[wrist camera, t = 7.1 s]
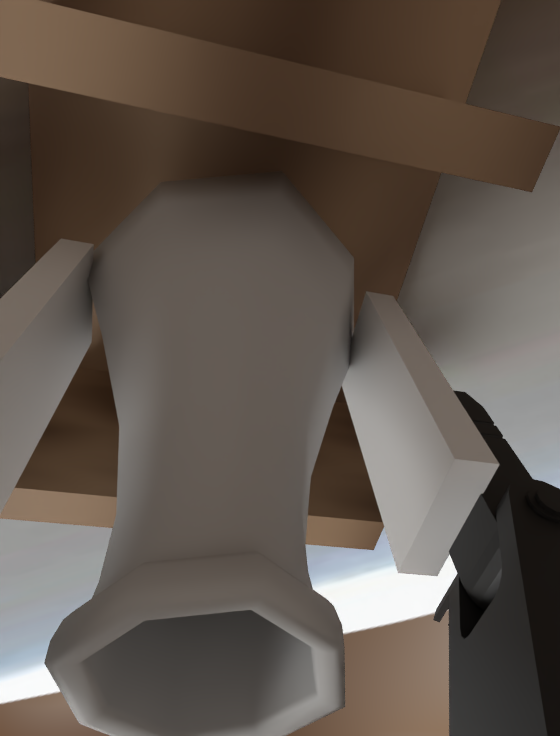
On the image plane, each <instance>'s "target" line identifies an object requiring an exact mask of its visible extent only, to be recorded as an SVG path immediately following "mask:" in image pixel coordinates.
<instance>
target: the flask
mask: <svg viewBox="0 0 560 736" xmlns="http://www.w3.org/2000/svg"><path fill="white" fill-rule="evenodd" d="M88 284H89V288H90V291H91V295H92V299H93V303H94V307H95V311H96V315H97V318H98V322H99V326H100V330H101V334H102V338H103V343H104V349H105V354H106V359H107V364H108V369H109V375H110V380H111V385H112V390H113V396H114V401H115V406H116V411H117V416H118V422H119V451H118V479H117V508H116V517H115V521H114V525H113V529H112V533H111V537H110V541H109V544H108V548H107V552H106V556H105V560H104V564H103V568H102V572H101V576H100V580H99V583H98V585H97V588H96V590H95V592H94V595H93V597H92V599H91V600H89V601H88V602H86V603H85V604H84V605H82V606H81V607H79V608H78V609H76V610H75V611H74V612H72V613H71V614H70V615H68V616H67V617H66V618H65V619H64V620H63V621H62V622H61V624H60V626H59V627H58V629H57V631H56V632H55V634H54V636H53V637H52V639H51V641H50V644H49V647H48V651H47V655H46V659H45V665H46V667H47V668H48V670H49V672H50V674H51V675H52V677H53V679H54V680H55V682H56V684H57V686H58V687H59V689H60V691H61V693H62V694H63V696H64V698H65V699H66V701H67V703H68V704H69V706H70V708H71V710H72V712H73V713H74V715H75V717H76V718H77V720H78V722H79V724H82V725H84V726H87V727H90V728H92V729H94V730H97V731H99V732H102V733H105V734H107V735H110V736H286V735H288V734H290V733H292V732H294V731H296V730H298V729H300V728H302V727H304V726H306V725H308V724H311V723H313V722H315V721H317V720H319V719H321V718H323V717H325V716H327V715H329V714H331V713H333V712H335V711H337V710H339V709H341V708H343V707H345V670H344V669H345V663H344V639H343V630H342V624H341V622H340V620H339V617H338V615H337V613H336V610H335V608H334V606H333V605H332V604H331V603H330V602H329V601H328V600H327V599H326V598H324V597H323V596H321V595H320V594H318V593H317V592H316V591H314V590H313V589H312V585H311V581H310V577H309V573H308V566H307V557H306V548H305V544H306V531H307V518H308V506H309V493H310V480H311V475H312V472H313V469H314V465H315V462H316V459H317V456H318V453H319V450H320V446H321V443H322V440H323V437H324V434H325V431H326V428H327V424H328V421H329V418H330V415H331V412H332V409H333V406H334V403H335V401H336V398H337V396H338V393H339V391H340V388H341V386H342V383H343V381H344V379H345V376H346V374H347V371H348V369H349V364H350V352H351V341H352V335H353V332H354V257H353V256H352V255H351V254H350V252H349V251H348V250H347V249H346V247H345V246H344V245H343V244H342V243H341V241H340V240H339V239H338V238H337V237H336V235H335V234H334V233H333V232H332V231H331V229H330V228H329V227H328V226H327V225H326V223H325V222H324V221H323V220H322V219H321V217H320V216H319V215H318V214H317V213H316V211H315V210H314V209H313V208H312V207H311V205H310V204H309V203H308V202H307V200H306V199H305V198H304V197H303V196H302V194H301V193H300V192H299V191H298V190H297V188H296V187H295V186H294V185H293V184H292V182H291V181H290V180H289V179H288V178H287V176H286V175H285V174H284V173H283V172H282V171H278V172H267V173H255V174H244V175H233V176H222V177H211V178H200V179H189V180H177V181H166V182H161V183H160V184H159V185H158V186H157V187H156V188H155V189H154V190H153V191H152V192H151V193H150V194H149V195H148V196H147V197H146V198H145V199H144V200H143V201H142V202H141V203H140V204H139V205H138V206H137V207H136V208H135V209H134V210H133V211H132V212H131V213H130V214H129V215H128V216H127V217H126V218H125V219H124V220H123V221H122V222H121V223H120V224H119V225H118V226H117V228H116V229H115V230H114V231H113V232H112V233H111V234H110V235H109V236H108V237H107V238H106V239H105V240H104V241H103V242H102V243H101V244H100V245H99V246H98V247H97V248H96V249H95V250H94V253H93V264H92V267H91V270H90V274H89V277H88Z"/></svg>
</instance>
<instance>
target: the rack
mask: <svg viewBox="0 0 560 736" xmlns="http://www.w3.org/2000/svg"><path fill="white" fill-rule="evenodd" d="M500 3H501V0H0V77H3V78H7V79H12V80H16V81H21V82H26V83H28V93H29V118H30V142H31V167H32V191H33V216H34V240H35V264H36V263H37V262H38V261H39V260H40V259H41V258H42V257H43V256H44V255H45V254H46V253H47V252H48V251H49V250H50V249H51V248H52V247H53V246H54V245H55V244H56V243H57V242H58V241H59V240H60V239H67V240H73V241H78V242H84V243H90V244H94V250H95V249H96V248H97V247H98V246H99V245H100V244H101V243H102V242H103V241H104V240H105V239H106V238H107V237H108V236H109V235H110V234H111V233H112V232H113V231H114V230H115V229H116V228H117V226H118V225H119V224H120V223H121V222H122V221H123V220H124V219H125V218H126V217H127V216H128V215H129V214H130V213H131V212H132V211H133V210H134V209H135V208H136V207H137V206H138V205H139V204H140V203H141V202H142V201H143V200H144V199H145V198H146V197H147V196H148V195H149V194H150V193H151V192H152V191H153V190H154V189H155V188H156V187H157V186H158V185H159V184H160V183H161V182H166V181H177V180H189V179H200V178H211V177H222V176H233V175H244V174H255V173H267V172H278V171H282V172H283V173H284V174H285V175H286V176H287V178H288V179H289V180H290V181H291V182H292V184H293V185H294V186H295V187H296V188H297V190H298V191H299V192H300V193H301V194H302V196H303V197H304V198H305V199H306V200H307V202H308V203H309V204H310V205H311V207H312V208H313V209H314V210H315V211H316V213H317V214H318V215H319V216H320V217H321V219H322V220H323V221H324V222H325V223H326V225H327V226H328V227H329V228H330V229H331V231H332V232H333V233H334V234H335V235H336V237H337V238H338V239H339V240H340V241H341V243H342V244H343V245H344V246H345V247H346V249H347V250H348V251H349V252H350V254H351V255H352V256H353V257H354V329H355V326H356V322H357V319H358V316H359V313H360V310H361V306H362V303H363V300H364V297H365V294H366V291H367V292H373V293H379V294H385V295H390V296H394V298H395V299H396V301H397V299H398V296H399V293H400V290H401V287H402V284H403V281H404V278H405V276H406V273H407V270H408V267H409V264H410V261H411V258H412V256H413V253H414V250H415V247H416V244H417V241H418V238H419V235H420V233H421V230H422V227H423V224H424V221H425V218H426V215H427V213H428V210H429V207H430V204H431V201H432V198H433V195H434V192H435V190H436V187H437V184H438V181H439V178H440V175H441V173H446V174H450V175H455V176H460V177H464V178H469V179H473V180H478V181H483V182H487V183H492V184H497V185H501V186H506V187H510V188H515V189H520V190H524V191H529V192H532V191H533V189H534V187H535V184H536V182H537V180H538V177H539V175H540V173H541V171H542V168H543V166H544V164H545V162H546V159H547V157H548V155H549V153H550V150H551V148H552V146H553V144H554V141H555V139H556V137H557V135H558V132H559V130H560V127H559V126H555V125H551V124H547V123H543V122H539V121H534V120H530V119H526V118H522V117H518V116H514V115H510V114H506V113H501V112H497V111H493V110H489V109H485V108H481V107H477V106H473V105H468V104H465V103H466V101H467V98H468V95H469V92H470V89H471V86H472V83H473V81H474V78H475V75H476V72H477V69H478V66H479V63H480V60H481V58H482V55H483V52H484V49H485V46H486V43H487V40H488V37H489V35H490V32H491V29H492V26H493V23H494V20H495V17H496V15H497V12H498V9H499V6H500ZM118 451H119V422H118V416H117V411H116V406H115V401H114V396H113V390H112V385H111V380H110V375H109V369H108V364H107V359H106V354H105V349H104V343H103V338H102V334H101V330H100V326H99V322H98V318H97V315H96V311H95V307H94V303H93V305H92V342H91V344H90V346H89V348H88V350H87V352H86V354H85V356H84V358H83V359H82V361H81V363H80V365H79V367H78V369H77V371H76V373H75V375H74V376H73V378H72V380H71V382H70V384H69V386H68V388H67V390H66V391H65V393H64V395H63V397H62V399H61V401H60V403H59V405H58V407H57V408H56V410H55V412H54V414H53V416H52V418H51V420H50V422H49V423H48V425H47V427H46V429H45V431H44V433H43V435H42V437H41V439H40V440H39V442H38V444H37V446H36V448H35V450H34V452H33V454H32V455H31V457H30V459H29V461H28V463H27V465H26V467H25V469H24V471H23V472H22V474H21V476H20V478H19V480H18V482H17V484H16V486H15V487H14V489H13V491H12V493H11V495H10V497H9V499H8V501H7V503H6V504H5V506H4V508H3V510H2V512H1V514H0V518H2V519H14V520H25V521H37V522H49V523H61V524H73V525H85V526H96V527H108V528H113V525H114V521H115V517H116V508H117V479H118ZM383 528H384V524H383V521H382V518H381V514H380V511H379V508H378V504H377V501H376V498H375V494H374V491H373V488H372V484H371V481H370V478H369V474H368V471H367V468H366V464H365V461H364V458H363V455H362V451H361V448H360V445H359V441H358V438H357V435H356V431H355V428H354V425H353V421H352V418H351V415H350V411H349V408H348V405H347V401H346V398H345V395H344V391H343V388H342V386H341V388H340V391H339V393H338V396H337V398H336V401H335V403H334V406H333V409H332V412H331V415H330V418H329V421H328V424H327V428H326V431H325V434H324V437H323V440H322V443H321V446H320V450H319V453H318V456H317V459H316V462H315V465H314V469H313V472H312V475H311V480H310V493H309V506H308V518H307V531H306V544H309V545H321V546H332V547H344V548H356V549H368V550H374V548H375V546H376V543H377V541H378V539H379V537H380V534H381V532H382V530H383Z"/></svg>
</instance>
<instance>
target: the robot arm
mask: <svg viewBox="0 0 560 736" xmlns="http://www.w3.org/2000/svg"><path fill="white" fill-rule="evenodd" d="M93 253H94V244H90V243H84V242H78V241H73V240H67V239H60V240H59V241H58V242H57V243H56V244H55V245H54V246H53V247H52V248H51V249H50V250H49V251H48V252H47V253H46V254H45V255H44V256H43V257H42V258H41V259H40V260H39V261H38V262H37V263H36V264H35V265H34V266H33V267H32V268H31V269H30V270H29V271H28V272H27V273H26V274H25V275H24V276H23V277H22V278H21V279H20V280H19V281H18V282H17V283H16V284H15V285H14V286H13V287H12V288H11V289H10V290H9V291H8V292H7V293H6V294H5V295H4V296H3V297H2V298H1V299H0V514H1V512H2V510H3V508H4V506H5V504H6V503H7V501H8V499H9V497H10V495H11V493H12V491H13V489H14V487H15V486H16V484H17V482H18V480H19V478H20V476H21V474H22V472H23V471H24V469H25V467H26V465H27V463H28V461H29V459H30V457H31V455H32V454H33V452H34V450H35V448H36V446H37V444H38V442H39V440H40V439H41V437H42V435H43V433H44V431H45V429H46V427H47V425H48V423H49V422H50V420H51V418H52V416H53V414H54V412H55V410H56V408H57V407H58V405H59V403H60V401H61V399H62V397H63V395H64V393H65V391H66V390H67V388H68V386H69V384H70V382H71V380H72V378H73V376H74V375H75V373H76V371H77V369H78V367H79V365H80V363H81V361H82V359H83V358H84V356H85V354H86V352H87V350H88V348H89V346H90V344H91V342H92V305H93V299H92V295H91V291H90V288H89V284H88V277H89V274H90V270H91V267H92V264H93ZM342 388H343V391H344V395H345V398H346V401H347V405H348V408H349V411H350V415H351V418H352V421H353V425H354V428H355V431H356V435H357V438H358V441H359V445H360V448H361V451H362V455H363V458H364V461H365V464H366V468H367V471H368V474H369V478H370V481H371V484H372V488H373V491H374V494H375V498H376V501H377V504H378V508H379V511H380V514H381V518H382V521H383V524H384V528H385V531H386V534H387V537H388V541H389V544H390V547H391V551H392V554H393V557H394V561H395V564H396V567H397V571H398V573H406V574H418V575H431V576H438V574H439V572H440V570H441V568H442V567H443V565H444V563H445V561H446V559H447V558H448V556H449V554H450V556H451V558H452V561H453V563H454V565H455V568H456V570H457V573H458V574H457V575H456V577H455V579H454V580H453V582H452V584H451V586H450V587H449V589H448V591H447V592H446V594H445V596H444V597H443V599H442V601H441V603H440V604H439V606H438V608H437V609H436V612H435V616H434V620H435V621H438V622H440V621H441V619H442V617H443V616H444V614H445V612H446V611H447V610H448V609H449V624H448V625H449V736H560V489H559V488H556V487H554V486H552V485H550V484H547V483H545V482H543V481H538V480H534V479H532V477H531V476H530V474H529V473H528V472H527V470H526V469H525V467H524V466H523V464H522V463H521V461H520V460H519V458H518V457H517V456H516V454H515V453H514V451H513V450H512V448H511V447H510V445H509V444H508V442H507V441H506V440H505V439H503V438H502V437H503V435H502V434H501V432H500V431H499V429H498V428H497V426H494V422H493V421H492V419H491V418H490V416H489V415H488V413H487V412H486V410H485V409H484V408H483V407H482V406H481V405H480V404H479V403H478V402H476V401H475V400H474V399H473V398H472V397H470V396H469V395H468V394H467V393H466V392H459V391H453V390H452V388H451V387H450V385H449V383H448V382H447V380H446V379H445V377H444V375H443V374H442V372H441V371H440V369H439V368H438V366H437V364H436V363H435V361H434V360H433V358H432V356H431V355H430V353H429V352H428V350H427V349H426V347H425V345H424V344H423V342H422V341H421V339H420V337H419V336H418V334H417V333H416V331H415V330H414V328H413V326H412V325H411V323H410V322H409V320H408V318H407V317H406V315H405V314H404V312H403V311H402V309H401V307H400V306H399V304H398V303H397V301H396V299H395V298H394V296H390V295H385V294H379V293H373V292H367V291H366V294H365V297H364V300H363V303H362V306H361V310H360V313H359V316H358V319H357V322H356V326H355V329H354V332H353V335H352V341H351V352H350V364H349V369H348V371H347V374H346V376H345V379H344V381H343V383H342Z"/></svg>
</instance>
